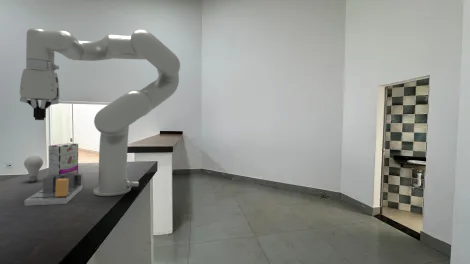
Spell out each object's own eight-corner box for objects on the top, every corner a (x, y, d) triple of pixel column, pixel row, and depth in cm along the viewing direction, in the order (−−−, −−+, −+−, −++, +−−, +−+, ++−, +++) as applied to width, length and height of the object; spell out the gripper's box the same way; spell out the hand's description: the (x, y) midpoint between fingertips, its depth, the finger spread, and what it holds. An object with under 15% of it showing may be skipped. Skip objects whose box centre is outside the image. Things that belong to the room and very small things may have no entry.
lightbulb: (21, 183, 95) (21, 156, 95) (27, 180, 101) (27, 154, 101) (39, 183, 98) (40, 156, 97) (44, 179, 103) (45, 154, 103)
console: (82, 188, 93) (83, 170, 93) (66, 203, 76) (67, 181, 76) (49, 189, 89) (49, 171, 89) (24, 206, 72) (24, 183, 72)
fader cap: (68, 193, 79) (68, 178, 78) (65, 196, 76) (66, 180, 76) (58, 194, 78) (58, 178, 77) (55, 196, 75) (55, 180, 75)
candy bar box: (67, 179, 105) (68, 142, 105) (78, 180, 105) (79, 143, 105) (47, 186, 94) (47, 145, 93) (59, 186, 94) (60, 145, 93)
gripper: (69, 71, 88) (68, 121, 89) (18, 66, 83) (17, 119, 83) (62, 67, 81) (61, 121, 82) (7, 61, 76) (6, 118, 76)
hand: (39, 119), depth 82 cm, fingers closed
